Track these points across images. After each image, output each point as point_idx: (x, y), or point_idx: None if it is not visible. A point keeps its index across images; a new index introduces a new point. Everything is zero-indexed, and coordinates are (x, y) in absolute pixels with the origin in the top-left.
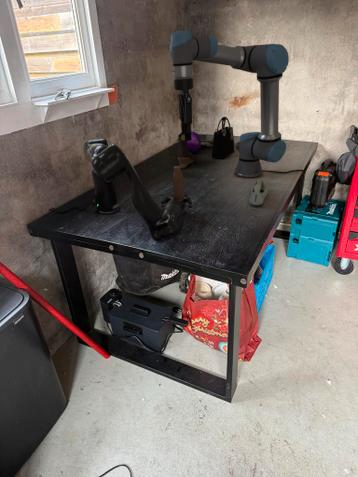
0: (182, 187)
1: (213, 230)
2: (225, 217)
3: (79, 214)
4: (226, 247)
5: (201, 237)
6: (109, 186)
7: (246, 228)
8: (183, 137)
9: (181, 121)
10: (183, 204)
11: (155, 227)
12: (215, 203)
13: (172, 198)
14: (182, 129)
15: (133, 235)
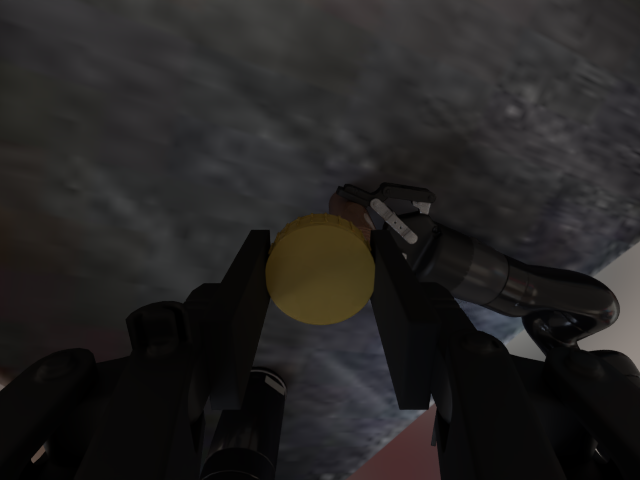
0: (372, 222)
1: (518, 137)
2: (453, 60)
3: None
4: (630, 135)
5: (538, 187)
6: (271, 452)
7: (567, 16)
8: (353, 310)
9: (202, 412)
10: (433, 225)
11: (570, 344)
12: (321, 52)
13: None
14: (256, 334)
15: None
